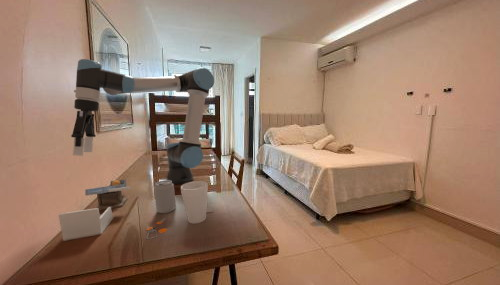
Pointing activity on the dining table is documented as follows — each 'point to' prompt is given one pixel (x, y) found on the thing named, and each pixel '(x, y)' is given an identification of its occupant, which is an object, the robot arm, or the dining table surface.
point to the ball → (115, 183)
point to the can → (164, 196)
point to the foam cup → (195, 200)
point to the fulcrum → (110, 200)
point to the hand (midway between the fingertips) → (83, 153)
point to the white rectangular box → (84, 223)
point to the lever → (107, 188)
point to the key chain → (156, 230)
